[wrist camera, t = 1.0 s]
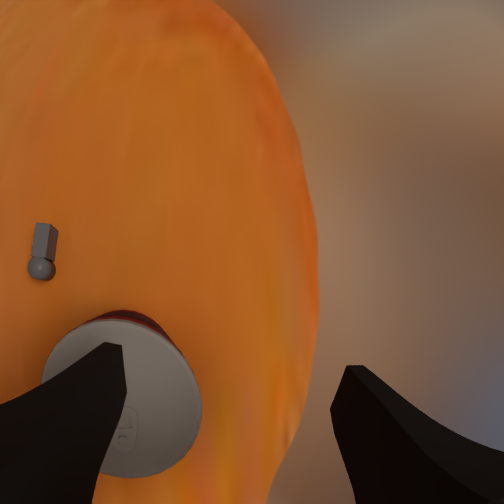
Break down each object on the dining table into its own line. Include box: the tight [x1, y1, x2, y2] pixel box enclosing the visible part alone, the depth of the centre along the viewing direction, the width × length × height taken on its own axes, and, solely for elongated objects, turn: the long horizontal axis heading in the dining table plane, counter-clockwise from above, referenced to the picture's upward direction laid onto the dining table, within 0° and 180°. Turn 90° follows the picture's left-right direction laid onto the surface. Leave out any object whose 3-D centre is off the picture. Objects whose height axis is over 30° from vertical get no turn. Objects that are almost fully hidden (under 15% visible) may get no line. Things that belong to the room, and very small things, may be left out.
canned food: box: [41, 310, 202, 478], centre depth 16 cm, size 8×8×11 cm
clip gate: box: [28, 222, 58, 281], centre depth 18 cm, size 19×2×2 cm, turn 177°
